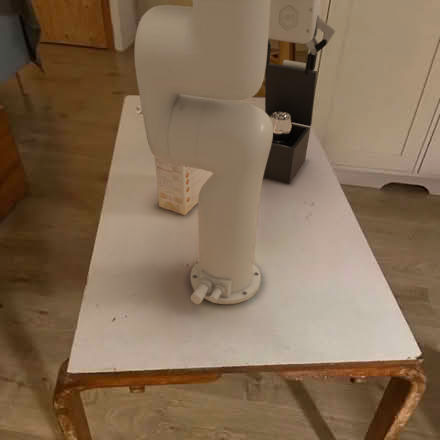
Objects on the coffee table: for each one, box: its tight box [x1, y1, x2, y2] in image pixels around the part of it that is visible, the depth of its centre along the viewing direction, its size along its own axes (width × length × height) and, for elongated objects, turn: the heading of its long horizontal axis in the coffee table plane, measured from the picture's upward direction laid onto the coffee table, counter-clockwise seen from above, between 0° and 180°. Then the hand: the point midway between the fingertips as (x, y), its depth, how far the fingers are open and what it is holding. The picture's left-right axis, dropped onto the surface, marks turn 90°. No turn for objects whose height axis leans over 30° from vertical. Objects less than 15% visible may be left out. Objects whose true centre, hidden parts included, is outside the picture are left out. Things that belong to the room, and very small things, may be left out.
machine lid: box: [264, 59, 318, 127], centre depth 104 cm, size 13×12×5 cm
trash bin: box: [263, 123, 311, 185], centre depth 107 cm, size 13×12×9 cm
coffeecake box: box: [154, 97, 214, 216], centre depth 94 cm, size 15×7×20 cm, turn 152°
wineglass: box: [270, 112, 293, 144], centre depth 106 cm, size 6×6×12 cm
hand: (286, 69), depth 94 cm, fingers open, 9 cm apart
